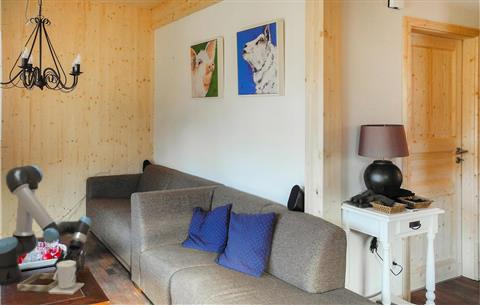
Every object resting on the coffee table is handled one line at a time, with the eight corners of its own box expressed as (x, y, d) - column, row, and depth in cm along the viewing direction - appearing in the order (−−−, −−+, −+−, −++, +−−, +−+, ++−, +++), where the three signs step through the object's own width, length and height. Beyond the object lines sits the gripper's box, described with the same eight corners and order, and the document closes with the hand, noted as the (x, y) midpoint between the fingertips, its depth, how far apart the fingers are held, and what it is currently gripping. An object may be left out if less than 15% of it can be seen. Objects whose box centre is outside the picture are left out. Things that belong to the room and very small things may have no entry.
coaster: (48, 293, 218) (48, 291, 218) (61, 283, 230) (61, 282, 230) (72, 294, 216) (72, 292, 216) (84, 284, 229) (84, 283, 229)
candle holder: (69, 289, 217) (69, 267, 217) (53, 287, 219) (52, 265, 219) (80, 282, 227) (79, 260, 226) (64, 280, 229) (63, 259, 228)
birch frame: (17, 290, 222) (17, 284, 221) (37, 277, 239) (37, 272, 239) (49, 291, 220) (48, 286, 219) (66, 279, 238) (66, 274, 237)
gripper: (98, 246, 236) (85, 284, 221) (62, 245, 238) (47, 282, 224) (93, 239, 230) (80, 278, 216) (56, 238, 233) (41, 276, 218)
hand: (63, 280), depth 220 cm, fingers closed on candle holder, 9 cm apart
